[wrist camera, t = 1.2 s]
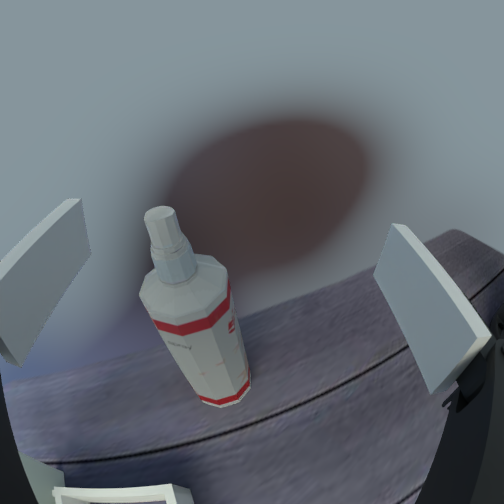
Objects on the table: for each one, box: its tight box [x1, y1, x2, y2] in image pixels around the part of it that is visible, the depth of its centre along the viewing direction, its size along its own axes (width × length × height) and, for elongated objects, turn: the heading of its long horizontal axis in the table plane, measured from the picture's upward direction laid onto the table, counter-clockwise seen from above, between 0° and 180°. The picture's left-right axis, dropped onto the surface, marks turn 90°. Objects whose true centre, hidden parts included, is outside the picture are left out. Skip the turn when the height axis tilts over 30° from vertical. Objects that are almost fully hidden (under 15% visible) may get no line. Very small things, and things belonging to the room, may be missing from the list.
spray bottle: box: [139, 206, 251, 408], centre depth 27 cm, size 8×8×25 cm
